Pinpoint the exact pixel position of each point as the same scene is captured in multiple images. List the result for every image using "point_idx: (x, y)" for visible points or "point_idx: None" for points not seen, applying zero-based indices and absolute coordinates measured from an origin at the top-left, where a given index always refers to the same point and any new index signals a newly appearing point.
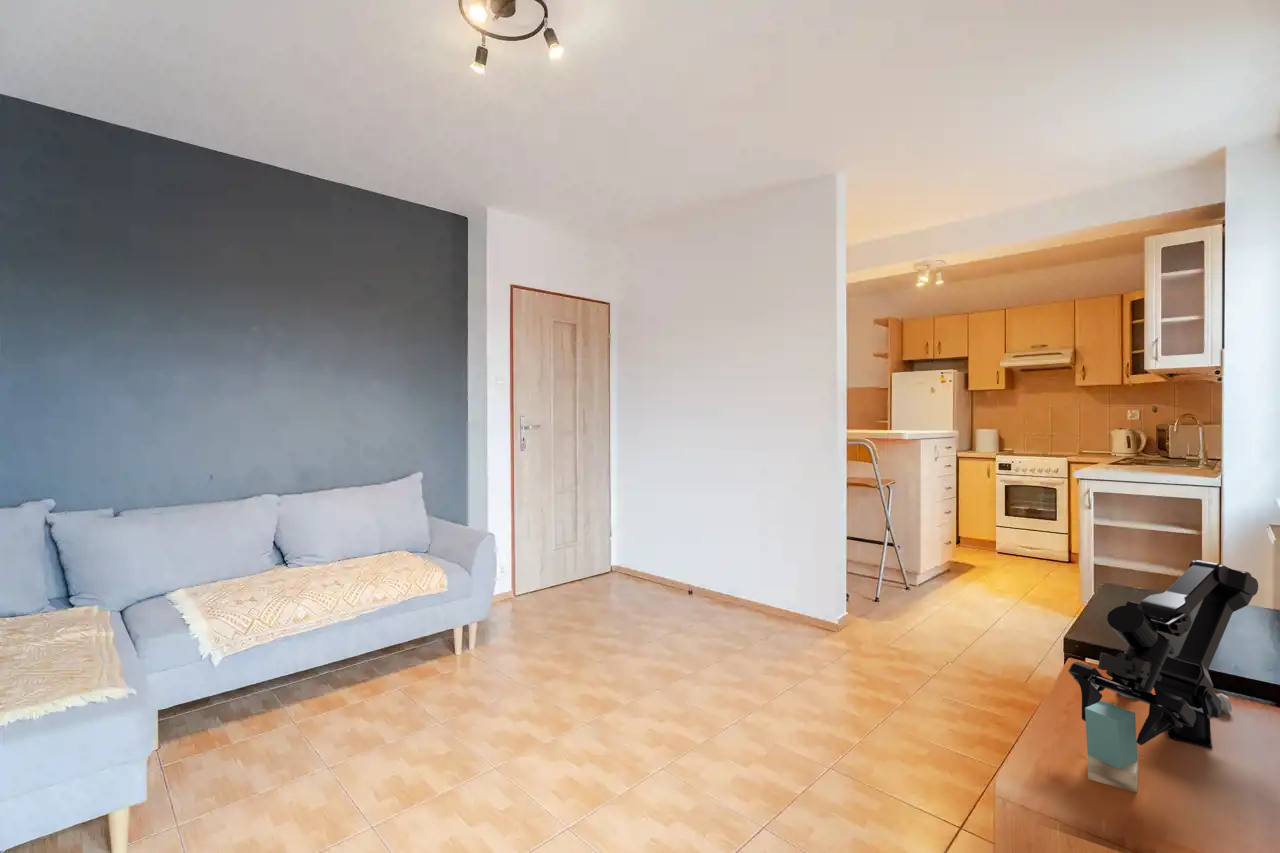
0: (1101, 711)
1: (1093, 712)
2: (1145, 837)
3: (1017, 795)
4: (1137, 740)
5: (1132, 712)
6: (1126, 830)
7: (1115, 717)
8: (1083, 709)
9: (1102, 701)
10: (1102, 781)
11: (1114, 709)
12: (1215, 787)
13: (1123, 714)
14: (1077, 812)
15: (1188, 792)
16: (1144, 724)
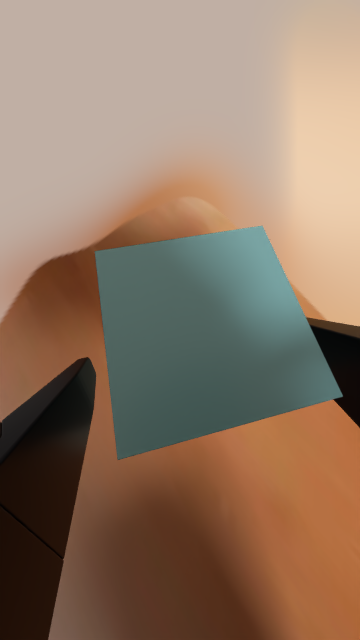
0: (208, 266)
1: (217, 236)
2: (43, 272)
3: (182, 198)
4: (83, 359)
5: (129, 442)
6: (66, 262)
7: (126, 274)
8: (318, 321)
9: (327, 380)
10: None
11: (208, 356)
12: (65, 581)
13: (133, 348)
14: (124, 236)
15: (83, 475)
16: (34, 413)
